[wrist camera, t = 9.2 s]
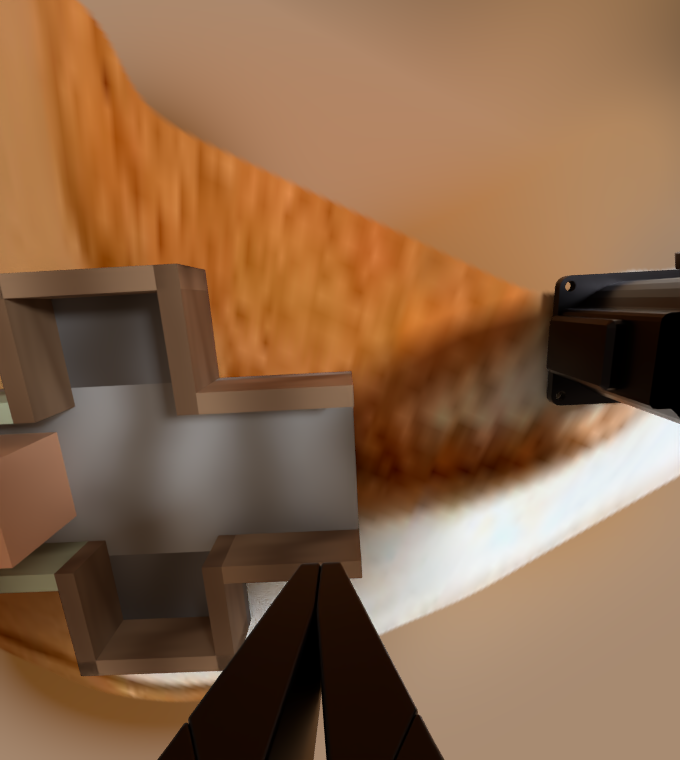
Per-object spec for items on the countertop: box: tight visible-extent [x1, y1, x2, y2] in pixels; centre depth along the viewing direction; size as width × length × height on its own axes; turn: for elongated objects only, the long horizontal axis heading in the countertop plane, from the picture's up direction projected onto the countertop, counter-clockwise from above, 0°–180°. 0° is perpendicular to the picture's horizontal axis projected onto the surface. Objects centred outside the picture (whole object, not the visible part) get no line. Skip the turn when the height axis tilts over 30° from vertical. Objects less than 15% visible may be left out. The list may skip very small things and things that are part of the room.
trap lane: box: [0, 264, 362, 676], centre depth 18 cm, size 23×21×3 cm
